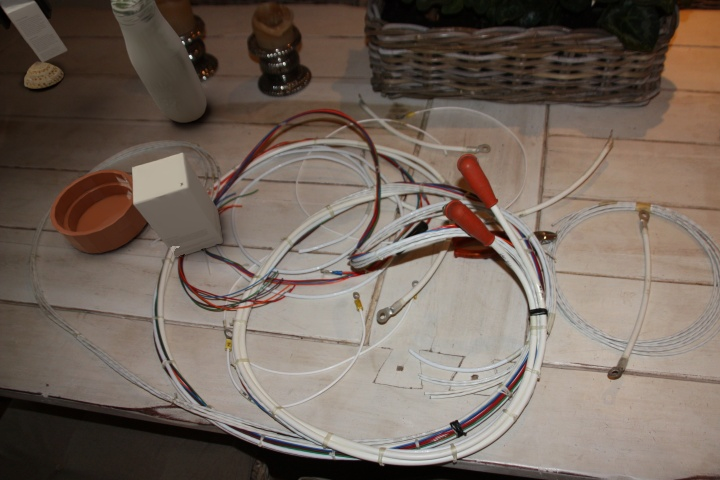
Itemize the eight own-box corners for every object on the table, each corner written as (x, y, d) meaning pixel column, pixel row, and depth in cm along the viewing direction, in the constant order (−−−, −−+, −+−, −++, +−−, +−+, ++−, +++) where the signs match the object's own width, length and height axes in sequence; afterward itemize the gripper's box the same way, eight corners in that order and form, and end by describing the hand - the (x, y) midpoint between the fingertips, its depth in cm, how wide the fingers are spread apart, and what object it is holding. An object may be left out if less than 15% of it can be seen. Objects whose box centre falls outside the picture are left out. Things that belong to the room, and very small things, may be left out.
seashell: (14, 76, 130) (35, 50, 130) (37, 89, 135) (57, 64, 135) (26, 90, 126) (47, 63, 126) (49, 103, 131) (69, 78, 131)
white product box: (218, 208, 102) (184, 150, 90) (224, 243, 97) (189, 187, 85) (171, 222, 101) (130, 165, 89) (174, 259, 96) (131, 204, 84)
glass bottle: (162, 132, 116) (87, 8, 93) (177, 101, 122) (109, -24, 99) (205, 131, 115) (140, 5, 92) (218, 99, 121) (160, -27, 98)
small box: (30, 47, 112) (-6, -3, 104) (56, 35, 114) (22, -15, 105) (42, 63, 108) (5, 14, 100) (68, 51, 110) (35, 1, 101)
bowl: (67, 265, 98) (46, 245, 93) (72, 203, 107) (53, 182, 102) (152, 240, 99) (136, 220, 94) (151, 181, 108) (135, 160, 103)
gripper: (-98, -56, 89) (-19, 42, 103) (10, -81, 90) (73, 19, 105) (-89, -75, 93) (-14, 22, 107) (14, -99, 94) (74, -1, 109)
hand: (28, 19), depth 106 cm, fingers closed on small box, 7 cm apart
